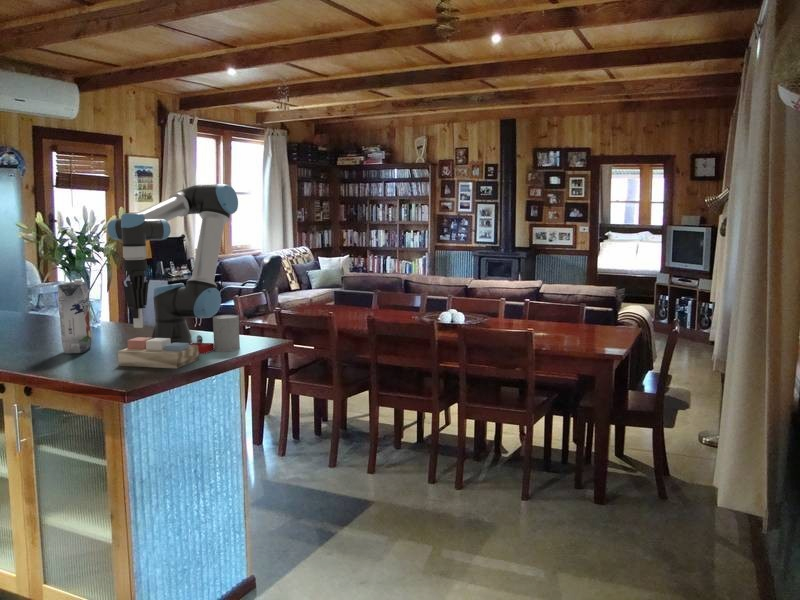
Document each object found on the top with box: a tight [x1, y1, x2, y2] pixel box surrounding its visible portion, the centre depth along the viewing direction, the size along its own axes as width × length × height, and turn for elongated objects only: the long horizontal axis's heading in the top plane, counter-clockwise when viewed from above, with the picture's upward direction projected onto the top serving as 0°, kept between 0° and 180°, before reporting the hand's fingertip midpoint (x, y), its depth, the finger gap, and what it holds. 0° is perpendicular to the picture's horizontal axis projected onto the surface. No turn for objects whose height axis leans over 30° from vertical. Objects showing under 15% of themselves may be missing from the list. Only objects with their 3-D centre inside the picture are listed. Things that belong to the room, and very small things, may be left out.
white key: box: [146, 338, 171, 350], centre depth 242 cm, size 6×6×3 cm
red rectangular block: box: [189, 334, 215, 354], centre depth 261 cm, size 8×7×6 cm
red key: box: [126, 336, 152, 349], centre depth 243 cm, size 6×6×3 cm
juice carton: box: [57, 278, 92, 354], centre depth 262 cm, size 9×10×27 cm
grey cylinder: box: [211, 314, 241, 353], centre depth 264 cm, size 10×10×12 cm
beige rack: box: [117, 345, 200, 369], centre depth 242 cm, size 14×22×5 cm, turn 76°
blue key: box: [165, 342, 190, 351], centre depth 240 cm, size 6×6×3 cm
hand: (138, 327), depth 242 cm, fingers closed
